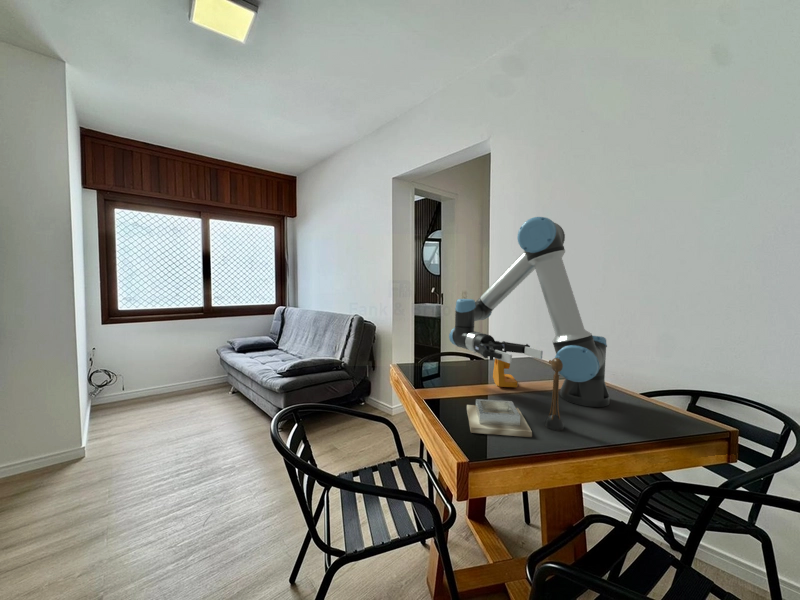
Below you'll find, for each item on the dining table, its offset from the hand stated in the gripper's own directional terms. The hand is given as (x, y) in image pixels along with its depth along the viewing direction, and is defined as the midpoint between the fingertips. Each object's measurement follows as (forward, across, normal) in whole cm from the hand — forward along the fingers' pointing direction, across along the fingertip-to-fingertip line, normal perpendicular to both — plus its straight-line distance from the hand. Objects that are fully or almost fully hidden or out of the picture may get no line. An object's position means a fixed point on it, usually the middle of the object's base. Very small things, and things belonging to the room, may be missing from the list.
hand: (526, 356), depth 101 cm
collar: (+1, +13, -16) cm, 21 cm away
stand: (+1, +13, -18) cm, 22 cm away
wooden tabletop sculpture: (+10, 0, -18) cm, 21 cm away
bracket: (-23, -15, -19) cm, 33 cm away
